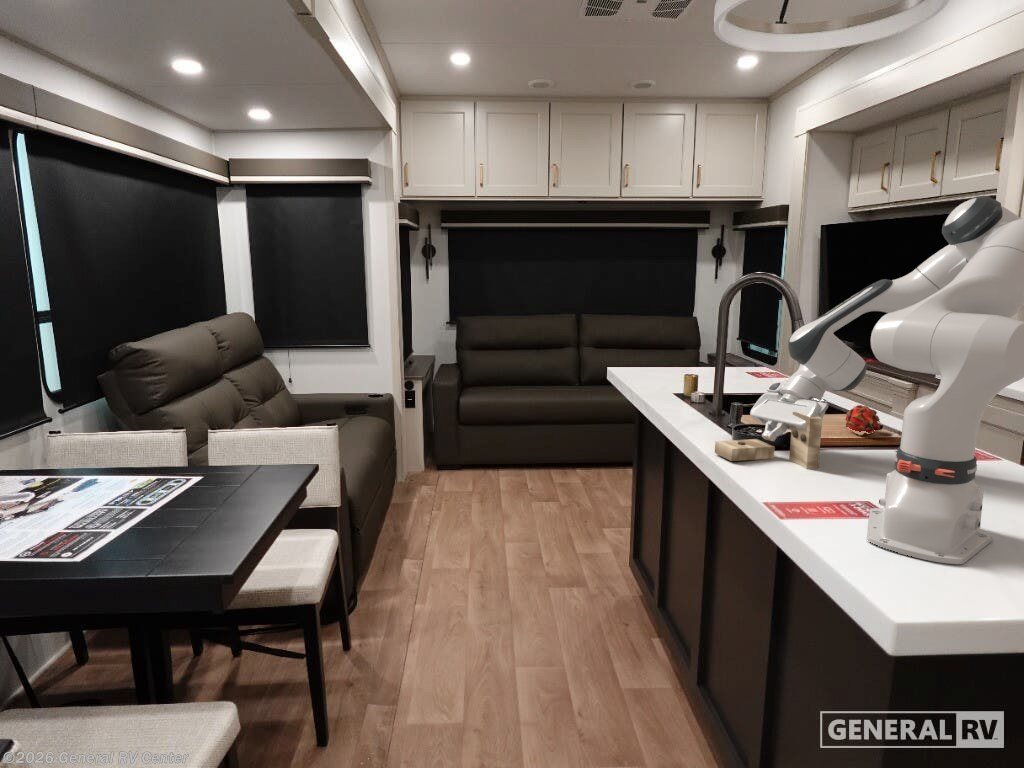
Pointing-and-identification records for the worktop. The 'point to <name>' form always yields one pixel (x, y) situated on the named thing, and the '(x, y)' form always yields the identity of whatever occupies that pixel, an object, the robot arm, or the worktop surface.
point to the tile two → (806, 442)
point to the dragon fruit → (863, 419)
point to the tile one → (744, 449)
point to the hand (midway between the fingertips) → (767, 438)
